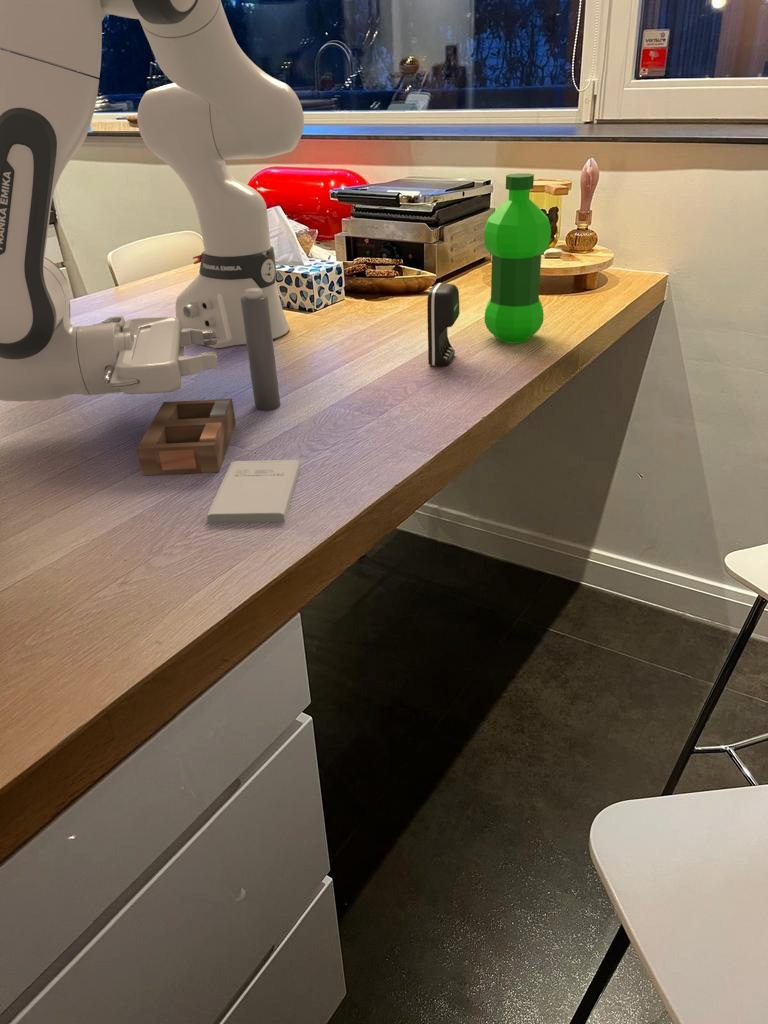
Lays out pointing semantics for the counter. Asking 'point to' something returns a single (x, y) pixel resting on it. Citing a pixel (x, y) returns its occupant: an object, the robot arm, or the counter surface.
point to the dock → (187, 437)
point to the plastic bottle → (516, 262)
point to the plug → (260, 349)
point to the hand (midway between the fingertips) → (216, 347)
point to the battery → (441, 322)
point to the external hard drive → (255, 492)
